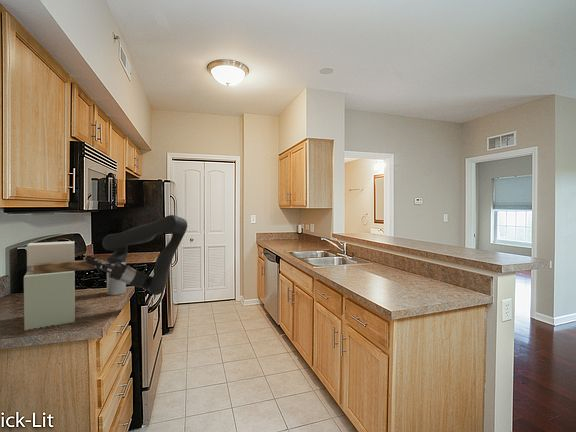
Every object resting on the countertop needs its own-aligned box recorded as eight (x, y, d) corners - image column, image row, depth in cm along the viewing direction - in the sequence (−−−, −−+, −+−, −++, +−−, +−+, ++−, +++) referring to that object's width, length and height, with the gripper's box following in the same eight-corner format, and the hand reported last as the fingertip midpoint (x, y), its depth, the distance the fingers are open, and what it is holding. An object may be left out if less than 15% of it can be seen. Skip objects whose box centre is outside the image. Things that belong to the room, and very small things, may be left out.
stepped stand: (30, 315, 134) (29, 243, 133) (74, 308, 143) (74, 241, 142) (24, 330, 117) (23, 248, 116) (74, 321, 127) (74, 245, 126)
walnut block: (96, 267, 136) (96, 259, 136) (97, 268, 133) (97, 260, 133) (28, 273, 123) (28, 264, 123) (27, 275, 120) (26, 265, 120)
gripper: (125, 263, 148) (90, 248, 139) (129, 268, 136) (92, 252, 128) (116, 277, 146) (81, 263, 137) (120, 283, 134) (81, 269, 126)
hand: (86, 258), depth 132 cm, fingers open, 8 cm apart
